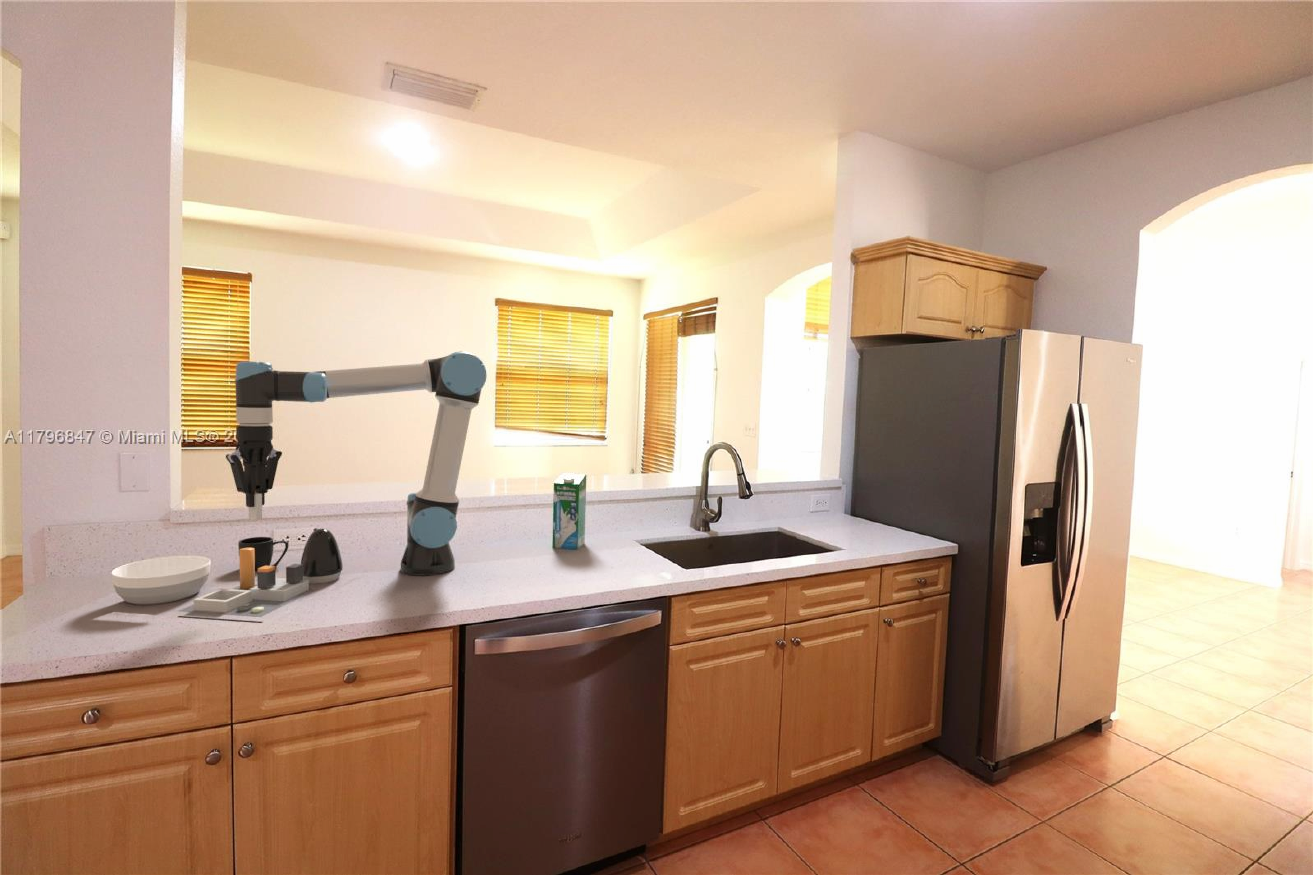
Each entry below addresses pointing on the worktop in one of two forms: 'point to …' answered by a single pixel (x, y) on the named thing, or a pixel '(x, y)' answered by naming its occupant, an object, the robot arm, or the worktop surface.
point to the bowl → (161, 579)
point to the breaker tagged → (266, 577)
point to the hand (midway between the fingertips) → (255, 519)
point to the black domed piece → (321, 557)
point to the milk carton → (569, 511)
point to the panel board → (248, 600)
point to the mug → (262, 550)
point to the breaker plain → (294, 573)
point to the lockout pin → (247, 568)
